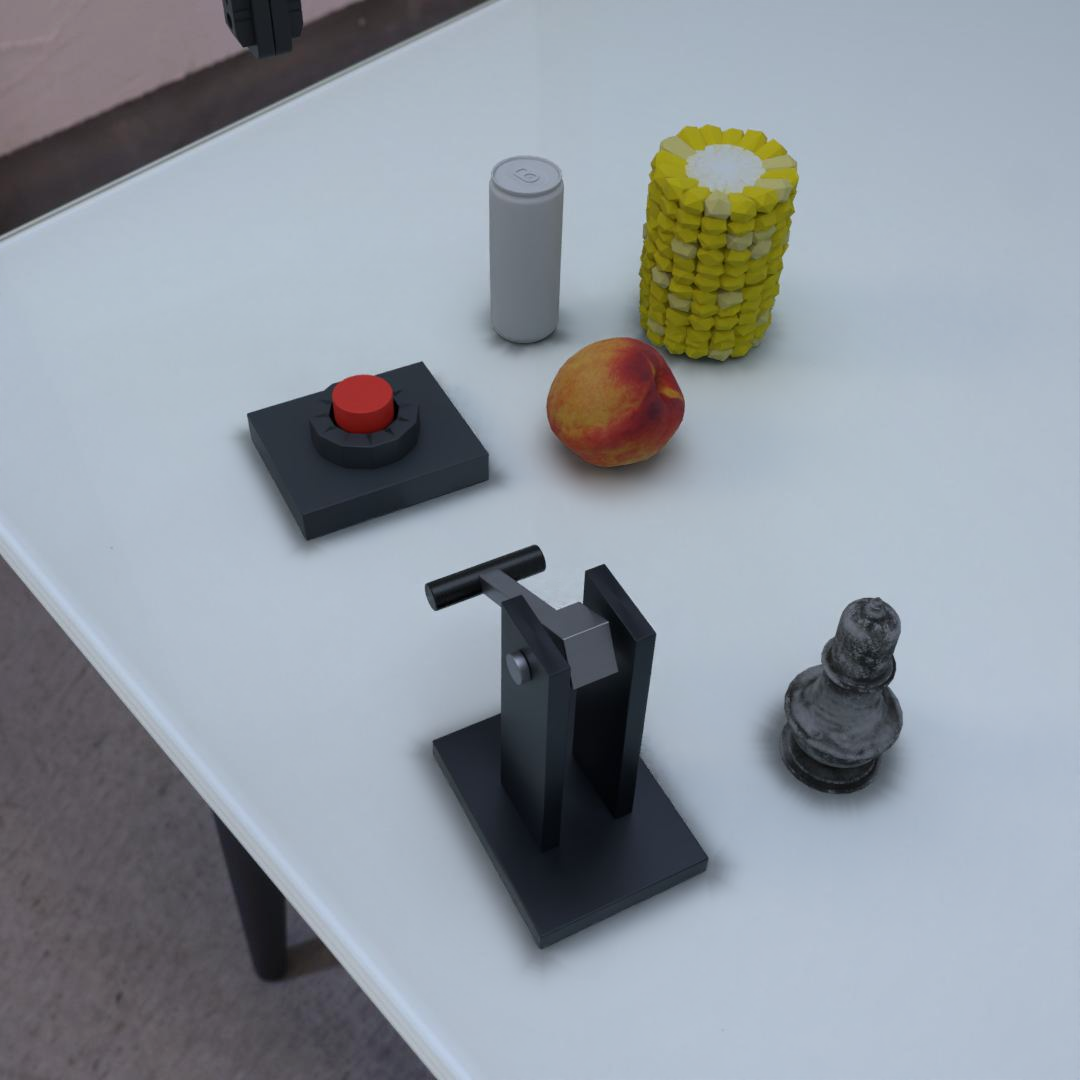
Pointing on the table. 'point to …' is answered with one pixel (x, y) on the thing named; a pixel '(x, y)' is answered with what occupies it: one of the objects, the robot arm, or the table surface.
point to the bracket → (570, 775)
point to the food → (714, 240)
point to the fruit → (615, 402)
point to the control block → (367, 454)
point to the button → (363, 404)
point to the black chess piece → (845, 703)
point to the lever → (535, 610)
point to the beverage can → (525, 247)
